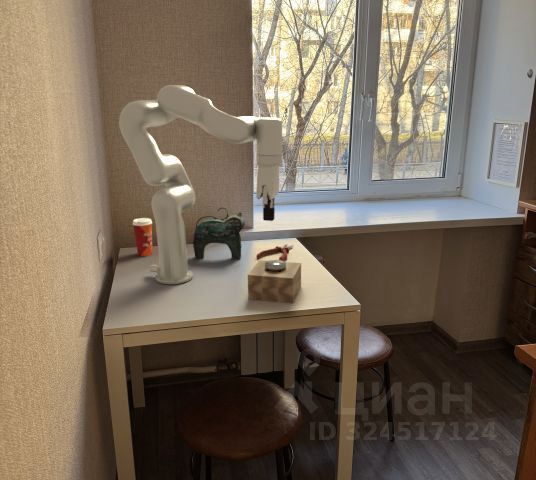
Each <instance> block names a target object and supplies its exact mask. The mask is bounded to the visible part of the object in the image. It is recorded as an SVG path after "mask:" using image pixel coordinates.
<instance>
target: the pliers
mask: <svg viewBox="0 0 536 480" xmlns="http://www.w3.org/2000/svg"><path fill="white" fill-rule="evenodd" d="M293 247H294V244H291V245H288V243H287V244H284V245H282V246H278V245H277V246H275V248H274V247H273V248H270V249H266V250H262V251H260V252H258V253H257V254H256V260H261V258H263V257H266V256H270V254H271V255H274V253H275V254H279V253H278V252H280V253H282V255H280V256H279V258H278V260H281V261H284V262H286V261H287V259H288V254H289V253H290V249H292V248H293Z"/></svg>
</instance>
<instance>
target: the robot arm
mask: <svg viewBox="0 0 536 480" xmlns="http://www.w3.org/2000/svg"><path fill="white" fill-rule="evenodd" d="M178 118H179V119H182V120H184V121H187V122H189V123H191V124H194V125H197V126H198V127H200V128H201V129H202V130H203V131H205V132H206V133H208V134H210V135H211V136H213V137H215V138H218V139H220V140H223V141H225V142H228V143H230V144H235V145H241V144H245V143H249V142H254V141H255V142H256V166H258V168H257V175H256V199H257V200H260V199H262V212H263V213H262V215H263V216H262V219H263V221H266V222H267V221H268V222H269V221H270V222H273V221H274V220H275V211H276V209H275V204H276V202H275V201H276V196H278V195H279V192H280V167H281V166H282V164H283V163H282V162H283V121H282V120H281V118H279V117H256V116H249V115H248V116H247V115H246V116H245V115H244V116H237V117H236V116H234V115H232V114H228V113H226V112H225V111H222V110H219V109H218V108H216V107H215V106H214V105H213V102H212V101H211V99H209V98H208V97H204V96H201V95H200V94H197V93H195V91H194V90H193V89H192V88H191V87H189V86H187V85H183V84H169V85H165V86H163V87H162V88H161V89H159V90H158V93H157V96H156V99H148V100H147V99H145V100H144V99H141V100H134V101H131V102H129V103H127V104H126V105H125V106H124V107H123V108H122V110H121V111H120V114H119V119H118V120H119V121H118V123H119V130H120V132H121V136H122V137H123V139H124V141H125V143H126V145H127V146H128V149H129V150H130V152H131V154H132V157H133V159H134V161H135V164H136V165H137V167H138V170H139V172H140V174H141V176H142V179H143V180H144V181H145V183H146V184H147V185H148V186H151V187H159V186H161V185H164V186H165V187H163V188H161V189H159V190H157V191H156V192H155V193H154V194H153V196H152V198H151V210H152V214H153V217H154V221H155V229H156V242H157V243H156V244H157V251H158V252H157V253H158V265H157V264H150V265H149V272H151V273H156V274H155V280H156V282H157V283H160V284H162V285H163V284H164V285H180V284H184V283H186V282H189V281H191V280H192V279H193V278H194V276H193V273H194V272H192V271H191V270H189V267H188V266H189V265H188V251H187V249H188V248H187V236H186V235H187V234H186V226H185V222H184V219H183V217H182V213H183V212H185V211H187V210H189V209H191V208H192V207H193V206H194V204H195V202H196V193H195V190H194V187H193V185H192V183H191V181H190V179H189V176H188V174H187V172H186V169H185V168H184V166H183V164H182V162H181V161H180V159H179V158H178V157H176V156H175V155H173V154H169V153H165V154H162V152H161V151H160V149H159V146H158V144H157V142H156V140H155V139H154V138H153V136H152V135H151V133H149V132H148V131H147V128H155V127H161V126H164V125H167V124H169V123H170V122H173V121H174V120H177V119H178Z"/></svg>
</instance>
